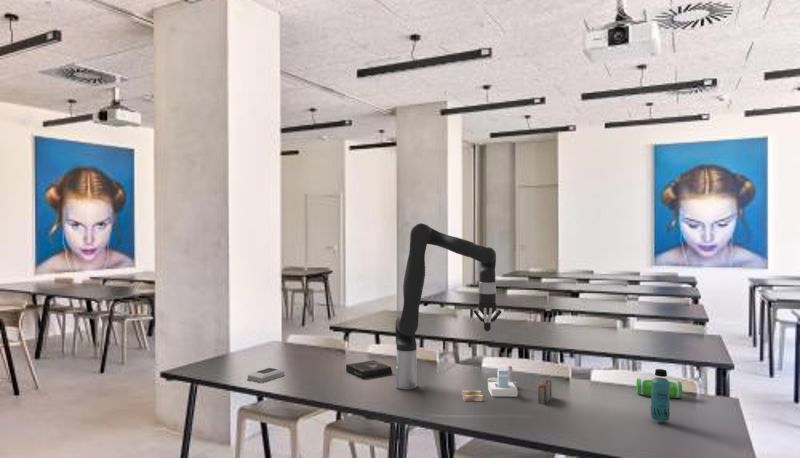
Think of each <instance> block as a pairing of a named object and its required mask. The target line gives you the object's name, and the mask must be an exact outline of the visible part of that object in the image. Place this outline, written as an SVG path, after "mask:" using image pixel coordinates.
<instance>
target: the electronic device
mask: <svg viewBox="0 0 800 458" xmlns="http://www.w3.org/2000/svg"><path fill="white" fill-rule="evenodd" d="M507 370H508V382H513V384H514V385H515V387H516V388H517V389H518V382H516V381H515V380H514V374H513V366H512V365H509V366H507ZM488 382H497V377H489V378H487V383H488Z"/></svg>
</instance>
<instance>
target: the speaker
mask: <svg viewBox="0 0 800 458" xmlns="http://www.w3.org/2000/svg"><path fill="white" fill-rule="evenodd" d="M653 379H654V378H649V377H638V378H636V394H638V395H640V396H648V397H652V380H653ZM667 380H668V381H669V382H670V399H678V398H679V399H680V398H682V397H683V384H682V383H683V382H682V381H679V380H676V379H675V380H674V379H667Z"/></svg>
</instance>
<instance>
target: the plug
mask: <svg viewBox="0 0 800 458" xmlns="http://www.w3.org/2000/svg"><path fill="white" fill-rule="evenodd" d="M496 376H497V377H496V378H497V388H508V368H497V375H496Z"/></svg>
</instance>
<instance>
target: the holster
mask: <svg viewBox="0 0 800 458" xmlns="http://www.w3.org/2000/svg"><path fill="white" fill-rule="evenodd" d="M461 396H462V400H463V401H464V402H483V401H484V395H483V394H482V390H461Z"/></svg>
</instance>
